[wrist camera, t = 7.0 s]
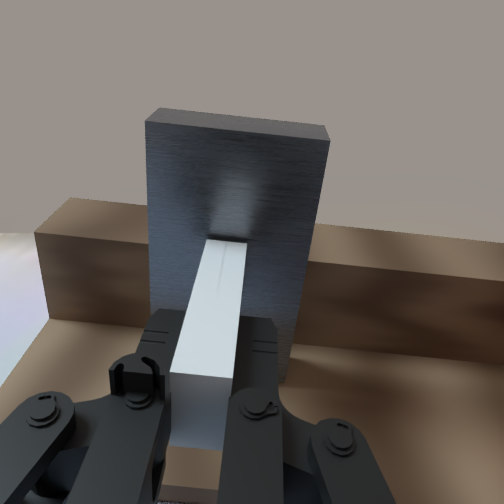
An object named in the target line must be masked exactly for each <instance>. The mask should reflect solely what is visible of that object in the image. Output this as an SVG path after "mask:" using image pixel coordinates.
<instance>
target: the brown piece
mask: <svg viewBox="0 0 504 504" xmlns="http://www.w3.org/2000/svg"><path fill="white" fill-rule="evenodd" d="M34 235H35V241H36V246H37V252H38V257H39V263H40V268H41V274H42V280H43V285H44V291H45V296H46V302H47V307H48V313H49V320H48V321H47V323H46V324H45V325H44V327H43V328H42V330H41V331H40V332H39V334H38V335H37V337H36V338H35V339H34V341H33V342H32V344H31V345H30V346H29V348H28V349H27V351H26V352H25V354H24V355H23V356H22V358H21V359H20V361H19V362H18V363H17V365H16V366H15V368H14V369H13V370H12V372H11V373H10V375H9V376H8V377H7V379H6V380H5V382H4V383H3V384H2V386H1V387H0V424H1V423H2V422H3V421H4V420H5V419H6V418H7V417H8V416H9V415H10V414H11V413H12V412H13V411H14V410H15V409H16V408H17V406H18V405H20V404H21V403H22V402H24V401H25V400H26V399H27V398H29V397H31V396H34V395H36V394H38V393H42V392H48V391H55V392H62V393H64V394H66V395H67V396H69V397H70V398H71V400H72V402H73V403H76V402H82V401H88V400H94V399H98V398H101V397H104V396H106V395H108V394H110V393H111V391H110V381H109V371H108V370H109V368H110V367H111V365H112V364H113V363H114V362H115V361H116V360H118V359H119V358H121V357H122V356H125V355H128V354H132V353H135V352H136V349H137V346H138V344H139V342H140V339H141V336H142V334H143V332H144V329H145V326H146V324H147V321H148V319H149V317H150V316H151V310H150V276H149V242H148V208H147V206H146V205H136V204H127V203H117V202H108V201H97V200H89V199H79V198H69V199H68V200H67V201H66V202H65V203H64V204H63V205H62V206H61V207H60V208H59V209H58V210H57V211H55V212H54V213H53V214H52V215H51V216H50V217H49V218H48V219H47V220H46V221H45V222H44V223H43V224H42V225H41V226H40V227H39V228H38V229H37V230H36V231H35V232H34ZM278 392H279V398H280V400H281V402H282V404H283V406H284V407H285V408H286V409H287V411H289V412H290V413H291V414H293V415H294V416H296V417H298V418H300V419H302V420H304V421H307V422H309V423H312V424H314V425H316V424H317V423H318V422H319V421H321V420H324V419H328V418H338V419H342V420H345V421H347V422H350V423H351V424H353V425H354V426H355V427H356V428H358V429H359V430H360V431H361V433H362V434H363V436H364V437H365V438H366V440H367V443H368V445H369V447H370V449H371V451H372V453H373V455H374V457H375V459H376V462H377V464H378V466H379V468H380V470H381V472H382V474H383V476H384V478H385V480H386V483H387V485H388V487H389V489H390V491H391V493H392V495H393V497H394V499H395V502H396V504H504V243H496V242H486V241H476V240H467V239H458V238H449V237H439V236H429V235H420V234H411V233H401V232H392V231H382V230H373V229H363V228H353V227H344V226H335V225H325V224H315V225H314V231H313V236H312V241H311V247H310V252H309V257H308V263H307V268H306V273H305V278H304V284H303V289H302V294H301V300H300V305H299V310H298V316H297V321H296V326H295V332H294V337H293V342H292V347H291V353H290V358H289V363H288V369H287V374H286V379H285V382H278ZM222 452H223V451H218V450H208V449H198V448H188V447H178V446H170V438H169V442H168V446H167V450H166V467H165V471H164V476H163V480H162V484H161V489H160V493H159V497H158V500H161V501H171V502H181V503H191V504H217V495H218V487H219V478H220V469H221V461H222Z"/></svg>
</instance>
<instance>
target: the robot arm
mask: <svg viewBox="0 0 504 504" xmlns="http://www.w3.org/2000/svg"><path fill="white" fill-rule="evenodd" d="M246 249H247V243H238V242H228V241H219V240H209V239H207V240H206V244H205V247H204V251H203V254H202V258H201V262H200V265H199V269H198V272H197V276H196V279H195V283H194V286H193V290H192V294H191V297H190V301H189V304H188V308H187V311H182V310H173V309H163V308H159V309H158V310H157V311H156V312H155V313H154V314H153V315H151V316H150V317H149V319H148V321H147V324H146V326H145V329H144V332H143V334H142V336H141V339H140V342H139V344H138V346H137V349H136V352H135V353H132V354H128V355H125V356H122V357H121V358H119V359H118V360H116V361H115V362H114V363H113V364H112V365H111V367H110V368H109V370H108V371H109V381H110V391H111V393H110V394H108V395H106V396H104V397H101V398H98V399H94V400H88V401H82V402H76V403H73V402H72V400H71V398H70V397H69V396H67V395H66V394H64V393H62V392H55V391H48V392H42V393H38V394H36V395H34V396H31V397H29V398H27V399H26V400H25V401H24V402H22V403H21V404H20V405H18V406H17V408H16V409H15V410H14V411H13V412H12V413H11V414H10V415H9V416H8V417H7V418H6V419H5V420H4V421H3V422H2V423H1V424H0V504H157V502H158V497H159V493H160V489H161V484H162V480H163V476H164V471H165V467H166V450H167V446H168V442H169V438H170V446H178V447H188V448H198V449H208V450H218V451H223V452H222V461H221V469H220V478H219V487H218V495H217V504H396V502H395V499H394V497H393V495H392V493H391V491H390V489H389V487H388V485H387V483H386V480H385V478H384V476H383V474H382V472H381V470H380V468H379V466H378V464H377V462H376V459H375V457H374V455H373V453H372V451H371V449H370V447H369V445H368V443H367V440H366V438H365V437H364V436H363V434H362V433H361V431H360V430H359V429H358V428H356V427H355V426H354V425H353V424H351V423H350V422H347V421H345V420H342V419H338V418H328V419H324V420H321V421H319V422H318V423H317V424H316V425H314V424H312V423H309V422H307V421H304V420H302V419H300V418H298V417H296V416H294V415H293V414H291V413H290V412H289V411H287V409H286V408H285V407H284V406H283V404H282V402H281V400H280V398H279V392H278V330H277V328H276V327H275V325H274V323H273V321H272V320H271V319H270V318H261V317H251V316H241V315H240V307H241V297H242V287H243V278H244V268H245V258H246Z"/></svg>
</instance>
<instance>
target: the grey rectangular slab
mask: <svg viewBox="0 0 504 504" xmlns="http://www.w3.org/2000/svg"><path fill="white" fill-rule="evenodd" d="M145 136H146V137H145V139H146V170H147V171H146V173H147V208H148V242H149V276H150V310H151V315H153V314H154V313H155V312H156V311H157V310H158V309H159V308H163V309H173V310H182V311H187V308H188V304H189V301H190V297H191V294H192V290H193V286H194V283H195V279H196V276H197V272H198V269H199V265H200V262H201V258H202V254H203V251H204V247H205V244H206V240H207V239H209V240H219V241H228V242H238V243H247V249H246V258H245V268H244V278H243V287H242V297H241V307H240V315H241V316H251V317H261V318H270V319H271V320H272V321H273V323H274V325H275V327H276V328H277V330H278V382H285V379H286V374H287V369H288V363H289V358H290V353H291V347H292V342H293V337H294V332H295V326H296V321H297V316H298V310H299V305H300V300H301V294H302V289H303V284H304V278H305V273H306V268H307V263H308V257H309V252H310V247H311V241H312V236H313V231H314V225H315V220H316V214H317V209H318V204H319V199H320V193H321V188H322V182H323V178H324V172H325V167H326V162H327V156H328V151H329V145H330V138H329V136H328V134H327V131H326V129H325V126H324V125H315V124H305V123H297V122H287V121H278V120H269V119H258V118H250V117H241V116H231V115H222V114H213V113H204V112H195V111H185V110H176V109H167V108H159V109H157V110H156V111H155V112H154V113H153V114H152V115H151V116H150V117H149V118H147V119H146V121H145Z"/></svg>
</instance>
